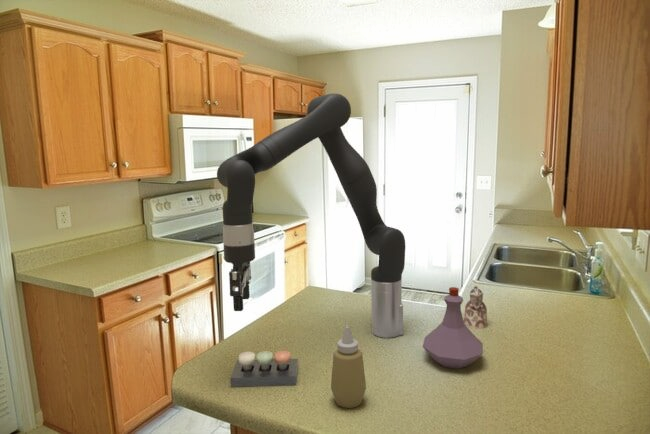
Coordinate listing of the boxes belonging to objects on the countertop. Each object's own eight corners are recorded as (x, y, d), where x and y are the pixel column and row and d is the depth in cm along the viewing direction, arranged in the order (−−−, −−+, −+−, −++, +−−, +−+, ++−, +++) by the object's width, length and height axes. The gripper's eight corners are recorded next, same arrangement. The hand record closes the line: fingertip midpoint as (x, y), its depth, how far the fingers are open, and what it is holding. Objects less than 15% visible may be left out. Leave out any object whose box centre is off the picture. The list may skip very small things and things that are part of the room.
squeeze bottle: (329, 392, 106) (327, 320, 103) (363, 390, 106) (362, 318, 103) (333, 413, 98) (331, 335, 95) (369, 410, 98) (368, 333, 95)
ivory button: (256, 365, 115) (255, 351, 115) (254, 373, 111) (253, 358, 111) (241, 366, 115) (240, 351, 115) (238, 374, 111) (237, 359, 111)
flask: (409, 362, 119) (410, 290, 116) (438, 341, 131) (439, 275, 128) (469, 382, 108) (471, 304, 105) (494, 357, 121) (497, 286, 117)
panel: (297, 367, 118) (297, 358, 118) (296, 385, 109) (295, 376, 109) (237, 368, 118) (237, 360, 118) (230, 387, 109) (230, 378, 109)
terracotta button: (291, 364, 115) (290, 350, 115) (290, 372, 111) (289, 357, 111) (275, 365, 115) (275, 350, 115) (274, 373, 111) (273, 358, 111)
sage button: (274, 365, 115) (273, 350, 115) (272, 373, 111) (271, 358, 111) (258, 365, 115) (257, 351, 115) (256, 373, 111) (255, 358, 111)
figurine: (462, 327, 141) (463, 290, 139) (464, 318, 147) (465, 283, 145) (486, 330, 138) (487, 293, 136) (487, 321, 144) (488, 285, 142)
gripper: (249, 247, 102) (252, 315, 105) (258, 235, 116) (261, 294, 119) (216, 248, 103) (220, 315, 105) (230, 235, 117) (233, 295, 119)
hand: (242, 304), depth 112 cm, fingers open, 8 cm apart
